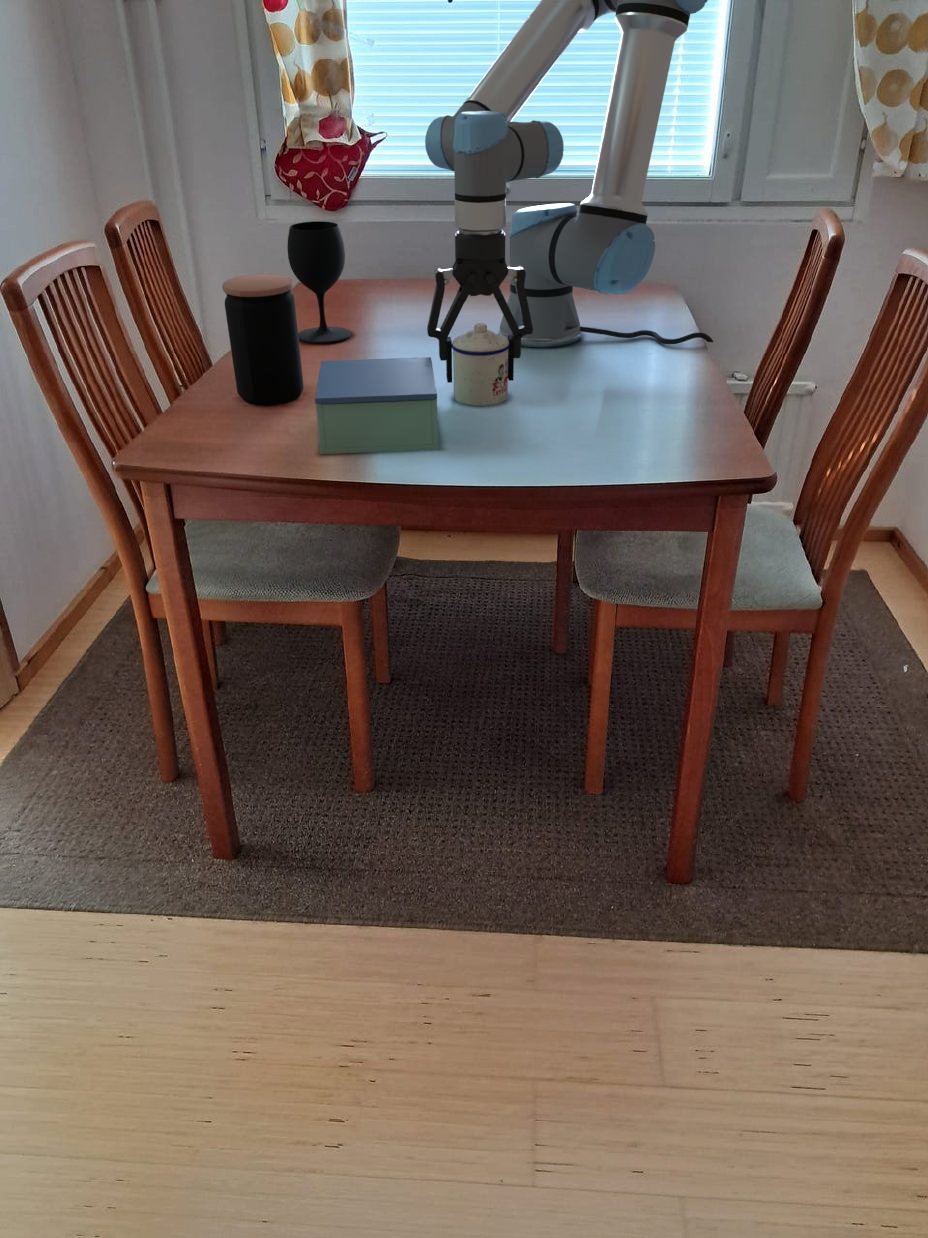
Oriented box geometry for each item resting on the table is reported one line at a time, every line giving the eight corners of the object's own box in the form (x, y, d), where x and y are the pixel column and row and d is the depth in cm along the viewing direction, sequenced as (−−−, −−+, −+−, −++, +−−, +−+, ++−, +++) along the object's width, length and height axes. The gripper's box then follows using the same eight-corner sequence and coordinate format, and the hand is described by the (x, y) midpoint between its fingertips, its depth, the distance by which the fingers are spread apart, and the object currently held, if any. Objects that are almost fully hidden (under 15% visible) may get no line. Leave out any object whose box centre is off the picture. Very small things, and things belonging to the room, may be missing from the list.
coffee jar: (316, 388, 158) (304, 276, 149) (285, 410, 150) (271, 292, 140) (258, 382, 161) (244, 271, 152) (225, 403, 153) (208, 287, 143)
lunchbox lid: (437, 399, 131) (437, 393, 131) (315, 404, 130) (314, 398, 130) (431, 362, 146) (431, 356, 146) (321, 366, 145) (321, 360, 145)
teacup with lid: (504, 408, 149) (505, 333, 143) (447, 405, 151) (445, 331, 145) (515, 383, 159) (516, 312, 153) (461, 381, 161) (460, 310, 154)
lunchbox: (438, 449, 136) (436, 399, 132) (321, 454, 135) (315, 404, 131) (432, 408, 150) (431, 362, 146) (326, 412, 149) (321, 366, 145)
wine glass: (286, 341, 181) (273, 229, 171) (314, 326, 189) (303, 218, 179) (335, 346, 178) (325, 232, 167) (360, 331, 186) (352, 221, 175)
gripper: (549, 223, 145) (543, 369, 157) (405, 226, 144) (411, 373, 156) (557, 233, 139) (550, 384, 151) (407, 236, 138) (412, 388, 150)
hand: (479, 378), depth 153 cm, fingers closed on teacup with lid, 9 cm apart
